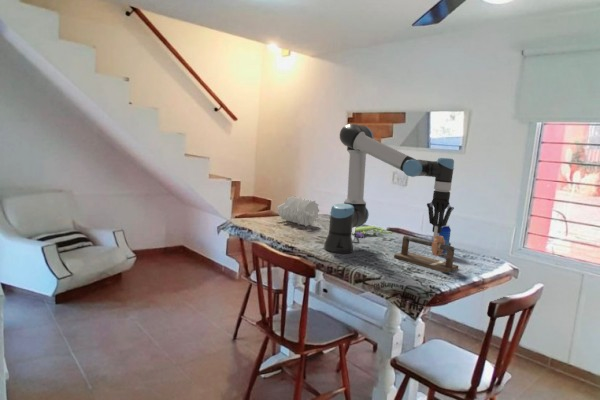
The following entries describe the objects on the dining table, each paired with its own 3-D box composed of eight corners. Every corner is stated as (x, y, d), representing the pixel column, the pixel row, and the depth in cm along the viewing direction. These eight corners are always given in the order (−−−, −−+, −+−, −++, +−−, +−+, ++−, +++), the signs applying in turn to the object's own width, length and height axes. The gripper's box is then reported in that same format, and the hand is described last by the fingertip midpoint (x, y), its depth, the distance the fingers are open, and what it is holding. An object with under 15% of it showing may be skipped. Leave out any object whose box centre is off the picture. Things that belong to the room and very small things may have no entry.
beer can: (439, 256, 227) (443, 226, 225) (427, 251, 235) (431, 223, 232) (450, 255, 231) (454, 226, 229) (439, 251, 239) (443, 223, 236)
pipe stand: (446, 272, 196) (449, 248, 195) (394, 257, 216) (396, 235, 214) (458, 268, 205) (461, 245, 203) (406, 254, 224) (409, 233, 223)
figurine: (393, 240, 259) (394, 231, 258) (350, 238, 255) (351, 228, 254) (383, 233, 277) (384, 225, 276) (343, 231, 273) (343, 222, 272)
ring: (434, 256, 202) (436, 237, 201) (430, 255, 203) (432, 237, 202) (443, 254, 208) (445, 236, 207) (439, 253, 210) (442, 235, 208)
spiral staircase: (289, 225, 295) (316, 231, 277) (272, 216, 282) (299, 221, 265) (298, 201, 299) (325, 205, 281) (282, 190, 286) (309, 194, 269)
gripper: (458, 192, 201) (452, 241, 204) (433, 188, 210) (427, 235, 213) (451, 192, 196) (444, 243, 199) (425, 188, 205) (419, 237, 208)
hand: (435, 239), depth 206 cm, fingers closed
